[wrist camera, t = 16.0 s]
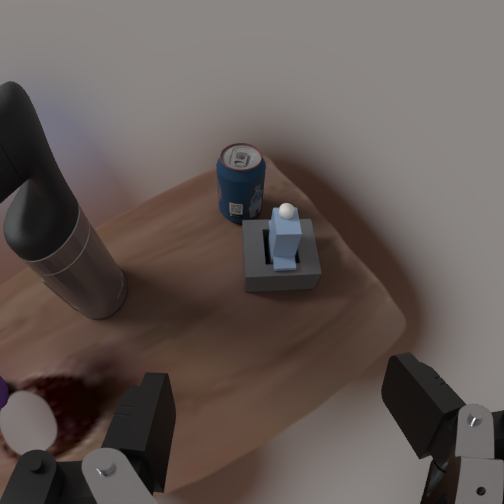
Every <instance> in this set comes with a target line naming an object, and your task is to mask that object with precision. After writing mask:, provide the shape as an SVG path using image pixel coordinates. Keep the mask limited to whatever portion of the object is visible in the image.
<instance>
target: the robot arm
mask: <svg viewBox="0 0 504 504" xmlns="http://www.w3.org/2000/svg"><path fill="white" fill-rule="evenodd" d="M20 186H21V187H20ZM19 187H20V189H19V191H18V192H17V194H16V196H15V198H14V199H13V201H12V203H11V204H10V207H9V208H8V211H7V213H6V216H5V220H4V236H5V239H6V241H7V244H8V245H9V246H10V248H11V249H12V250H13V251H14V252H15V253H16V254H17V255H18V256H19V257H20V258H21V259H22V260H23V261H24V262H25V263H26V264H27V265H28V266H29V267H30V268H31V269H32V270H33V271H34V272H36V273H37V274H38V275H39V276H40V277H41V278H42V282H43V283H44V284H45V285H46V286H47V287H48V288H49V289H50V290H52V291H53V292H54V293H55V294H56V295H57V296H59V297H60V298H61V299H62V300H63V301H64V302H66V303H67V304H68V305H69V306H70V307H72V308H73V309H77V310H78V311H80V312H81V313H82V314H83V315H85V316H86V317H88V318H92V319H102V318H106V317H108V316H110V315H112V314H113V313H115V312H116V311H117V310H118V309H119V308H120V306H121V305H122V303H123V301H124V299H125V297H126V292H127V282H126V278H125V276H124V274H123V273H122V271H121V270H120V268H119V267H118V265H117V264H116V262H115V261H114V259H113V258H112V256H111V255H110V253H109V252H108V250H107V248H106V247H105V245H104V244H103V242H102V241H101V239H100V238H99V236H98V234H97V233H96V231H95V230H94V228H93V226H92V225H91V223H90V221H89V220H88V218H87V216H86V215H85V213H84V212H83V210H82V208H81V207H80V205H79V203H78V201H77V200H76V198H75V196H74V195H73V193H72V191H71V190H70V188H69V186H68V185H67V183H66V181H65V179H64V177H63V175H62V173H61V171H60V169H59V168H58V165H57V163H56V161H55V159H54V157H53V154H52V152H51V149H50V147H49V144H48V142H47V139H46V136H45V134H44V131H43V128H42V126H41V123H40V121H39V118H38V116H37V113H36V111H35V108H34V106H33V104H32V102H31V100H30V98H29V96H28V95H27V93H26V92H25V90H24V89H23V88H22V87H21V86H20V85H19V84H17V83H15V82H11V81H9V82H6V83H4V84H2V85H1V86H0V203H2V202H3V201H4V200H5V199H6V198H7V197H8V196H9V195H11V194H12V193H13V192H14V191H15V190H16V189H17V188H19ZM381 394H382V399H383V402H384V403H385V405H386V407H387V408H388V410H389V411H390V413H391V414H392V416H393V418H394V419H395V421H396V422H397V424H398V426H399V427H400V429H401V430H402V432H403V433H404V435H405V437H406V438H407V440H408V442H409V443H410V445H411V446H412V448H413V450H414V451H415V453H416V455H417V456H418V457H419V459H422V458H425V457H427V456H430V455H431V456H432V457H433V460H432V461H431V464H430V467H429V472H428V476H427V480H426V484H425V488H424V492H423V495H422V499H421V502H420V504H504V410H503V411H498V412H490V411H489V410H488V409H486V408H485V407H483V406H481V405H478V404H469V405H466V404H465V403H464V402H463V400H462V399H461V398H460V397H459V396H458V395H457V394H456V393H455V392H454V391H453V390H452V388H450V386H449V385H448V384H446V383H445V381H444V380H443V379H442V378H440V376H439V375H438V373H437V372H436V371H434V369H433V368H431V367H429V366H428V365H426V364H424V363H422V362H421V363H420V362H419V361H418V360H417V359H416V358H415V357H414V356H413V355H412V354H411V353H404V354H399V355H394V356H392V357H390V359H389V361H388V365H387V370H386V373H385V377H384V381H383V385H382V390H381ZM118 405H119V406H118V407H117V409H116V412H115V415H114V417H113V419H112V421H111V424H110V426H109V429H108V431H107V434H106V437H105V439H104V442H103V444H102V447H101V448H100V449H96V450H94V451H92V452H90V453H89V454H87V455H86V457H85V458H84V460H83V461H72V462H56V460H55V459H54V458H53V456H52V455H51V454H49V453H48V452H46V451H43V450H32V451H29V452H26V453H25V454H23V455H22V456H21V457H20V459H19V460H18V462H17V464H16V466H15V469H14V471H13V473H12V475H11V477H10V479H9V482H8V484H7V486H6V489H5V491H4V493H3V496H2V498H1V500H0V504H157V502H156V501H155V499H154V498H153V492H161V493H164V488H165V481H166V475H167V468H168V462H169V456H170V450H171V444H172V438H173V432H174V427H175V421H176V409H175V403H174V398H173V394H172V389H171V384H170V379H169V376H168V374H167V373H148V372H147V373H145V375H144V378H143V381H142V383H141V386H131V387H130V388H129V389H128V390H127V391H126V392H125V393H124V394H123V395H122V397H121V400H120V402H119V404H118Z"/></svg>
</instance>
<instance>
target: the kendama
mask: <svg viewBox="0 0 504 504" xmlns="http://www.w3.org/2000/svg"><path fill="white" fill-rule="evenodd" d="M8 398H9V391H8V387H7V385H6V382H5V381H4V380H3V378H2V377H1V376H0V409H1V408H3V407H4V406H5V405H6V404H7V401H8Z"/></svg>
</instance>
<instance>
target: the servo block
mask: <svg viewBox="0 0 504 504" xmlns="http://www.w3.org/2000/svg"><path fill="white" fill-rule="evenodd" d="M269 230H270V232H269V238H268V245H267V251H266V254H267V264H268V265H269V264H273V266H274V271H285V270H296V263H295V254H296V251H297V248H298V245H299V242H300V239H301V235H302V232H301V227H300V221H299V216H298V211H297V208H294V206H293V205H291V204H289V203H284V204H282V205H281V206H280V208H273V212H272V218H271V220H270V221H269Z"/></svg>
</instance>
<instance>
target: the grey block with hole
mask: <svg viewBox="0 0 504 504" xmlns="http://www.w3.org/2000/svg"><path fill="white" fill-rule="evenodd" d="M270 220H271V219H269V220H242V247H243V266H244V285H245V292H261V291H283V290H302V289H314V288H315V286H316V284H317V282H318V280H319V278H320V276H321V274H322V272H321V267H320V261H319V256H318V251H317V246H316V241H315V236H314V231H313V226H312V222H311V219H299V221H300V227H301V232H302V235H301V239H300V242H299V245H298V248H297V251H296V254H295V263H296V270H285V271H274V266H273V264H269V265H266V263H265V252H264V247H267V245H268V238H269V232H270V230H269V221H270Z"/></svg>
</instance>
